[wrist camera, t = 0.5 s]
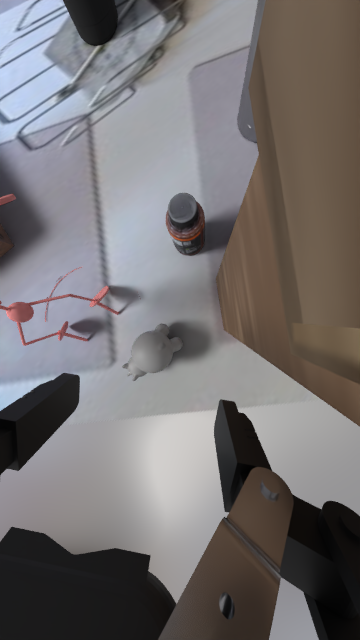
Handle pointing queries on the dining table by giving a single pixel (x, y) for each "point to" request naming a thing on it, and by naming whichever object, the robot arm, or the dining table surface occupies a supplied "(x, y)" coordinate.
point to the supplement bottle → (186, 223)
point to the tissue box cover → (4, 242)
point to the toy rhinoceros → (152, 352)
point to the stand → (269, 303)
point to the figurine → (25, 311)
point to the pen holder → (93, 19)
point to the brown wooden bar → (313, 171)
